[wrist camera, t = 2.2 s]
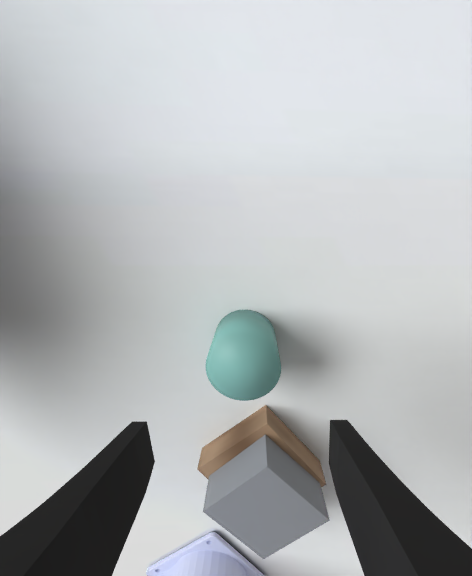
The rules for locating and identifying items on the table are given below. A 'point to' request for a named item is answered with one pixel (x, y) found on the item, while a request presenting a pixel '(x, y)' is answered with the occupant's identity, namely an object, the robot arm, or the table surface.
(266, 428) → the walnut base block
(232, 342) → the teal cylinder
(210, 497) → the grey top block
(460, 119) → the table surface
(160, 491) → the table surface
